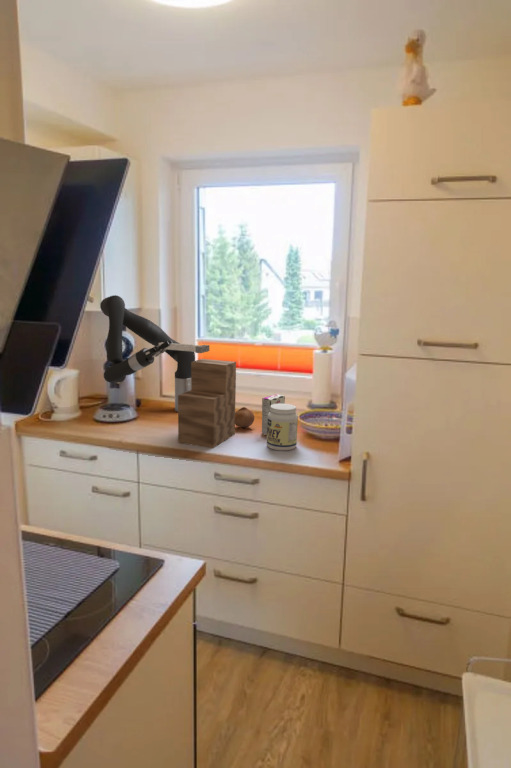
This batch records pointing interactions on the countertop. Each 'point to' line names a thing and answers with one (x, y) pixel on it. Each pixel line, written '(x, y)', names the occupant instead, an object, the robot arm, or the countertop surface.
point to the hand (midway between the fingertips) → (170, 342)
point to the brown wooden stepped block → (208, 404)
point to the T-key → (187, 347)
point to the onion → (244, 418)
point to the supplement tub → (282, 427)
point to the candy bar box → (266, 408)
